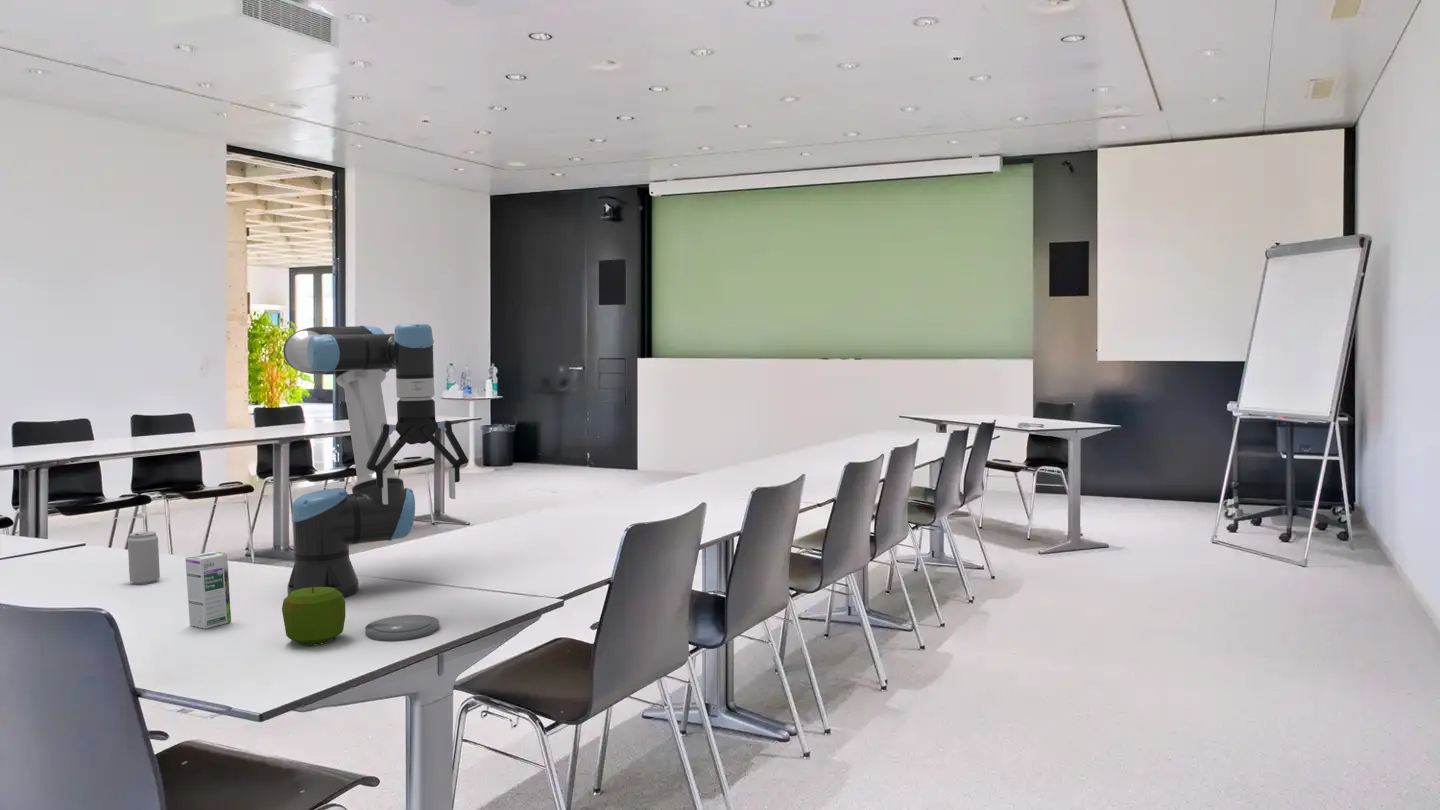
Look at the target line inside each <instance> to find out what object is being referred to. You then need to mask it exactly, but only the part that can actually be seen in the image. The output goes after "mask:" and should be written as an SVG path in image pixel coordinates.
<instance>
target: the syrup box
mask: <svg viewBox="0 0 1440 810" xmlns="http://www.w3.org/2000/svg"><path fill="white" fill-rule="evenodd" d="M184 559H185V572H186V573H185V574H186V589H187V601H188V603H187V604H188V616H189V617H188V618H189V619H188V620H189V625H190V626H192V627H194V626H195V627H194V628H197V627H199V628H198V629H202V628H203V630H208V629H210V628H214V627H218V626H221V625H225V624H230V623H231V622H232V613H231V612H232V611H231V594H230V582H229V578H230V577H229V562H228V561H229V560H228V554H227V553H224V552H221V551H212V550H211V551H209V552H205V553H200V554H199V553H198V554H194V555H190V556H189V555H188V556H186V557H185V558H184Z"/></svg>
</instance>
